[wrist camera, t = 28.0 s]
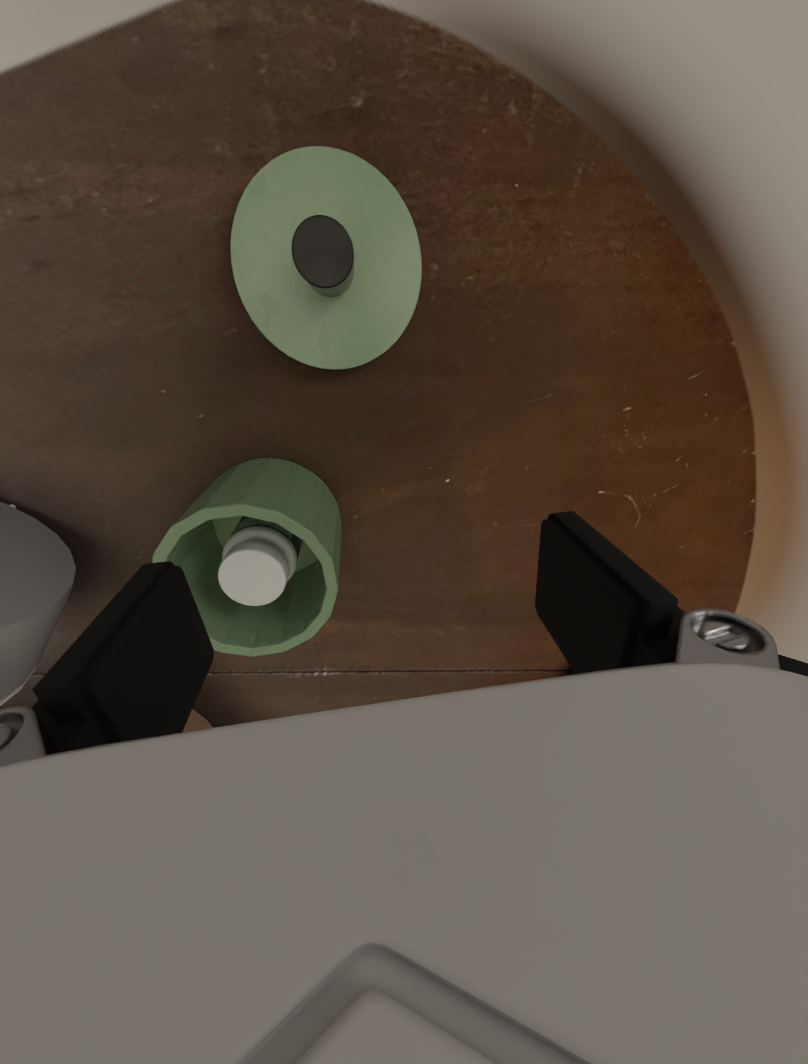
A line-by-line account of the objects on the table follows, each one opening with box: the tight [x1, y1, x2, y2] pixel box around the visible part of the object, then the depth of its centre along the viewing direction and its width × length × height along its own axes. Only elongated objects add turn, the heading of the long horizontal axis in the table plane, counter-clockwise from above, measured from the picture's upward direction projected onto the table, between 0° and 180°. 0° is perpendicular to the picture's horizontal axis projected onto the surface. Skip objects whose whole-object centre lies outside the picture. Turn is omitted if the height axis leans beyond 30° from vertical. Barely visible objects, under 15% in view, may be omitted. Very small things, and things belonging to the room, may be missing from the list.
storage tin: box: [152, 458, 342, 657], centre depth 28 cm, size 10×10×10 cm
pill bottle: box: [218, 516, 303, 606], centre depth 28 cm, size 5×5×8 cm
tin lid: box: [230, 146, 422, 370], centre depth 23 cm, size 11×11×7 cm
